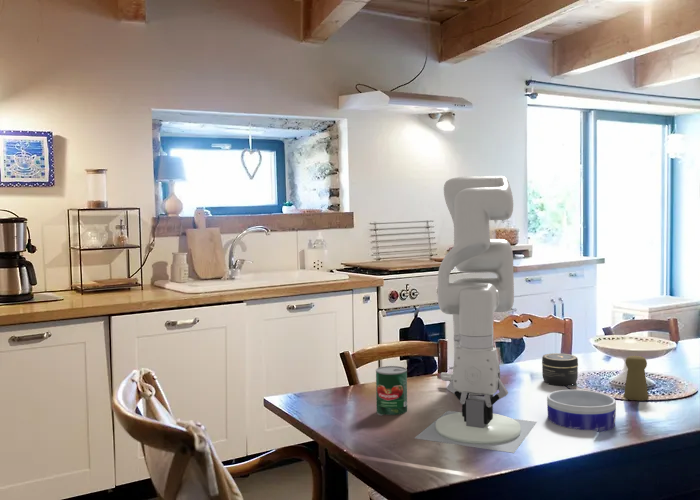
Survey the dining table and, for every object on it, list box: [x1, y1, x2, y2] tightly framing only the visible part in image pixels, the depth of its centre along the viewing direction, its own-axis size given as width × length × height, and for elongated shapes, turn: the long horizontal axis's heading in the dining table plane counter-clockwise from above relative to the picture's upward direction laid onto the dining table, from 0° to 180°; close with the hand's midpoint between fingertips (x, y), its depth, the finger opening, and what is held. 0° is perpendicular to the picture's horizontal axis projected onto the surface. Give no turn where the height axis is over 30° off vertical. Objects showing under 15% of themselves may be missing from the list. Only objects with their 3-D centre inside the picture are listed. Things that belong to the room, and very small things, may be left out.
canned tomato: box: [375, 365, 408, 417], centre depth 166 cm, size 8×8×11 cm
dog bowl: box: [546, 389, 617, 433], centre depth 155 cm, size 15×15×6 cm
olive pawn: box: [623, 355, 650, 401], centre depth 174 cm, size 6×6×11 cm
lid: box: [435, 395, 521, 444], centre depth 149 cm, size 19×19×7 cm
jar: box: [541, 352, 579, 387], centre depth 191 cm, size 10×10×8 cm
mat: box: [414, 410, 538, 454], centre depth 150 cm, size 22×22×1 cm
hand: (477, 420), depth 150 cm, fingers closed on lid, 4 cm apart
